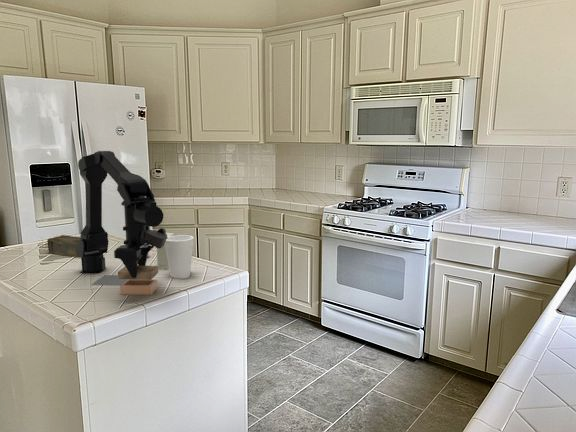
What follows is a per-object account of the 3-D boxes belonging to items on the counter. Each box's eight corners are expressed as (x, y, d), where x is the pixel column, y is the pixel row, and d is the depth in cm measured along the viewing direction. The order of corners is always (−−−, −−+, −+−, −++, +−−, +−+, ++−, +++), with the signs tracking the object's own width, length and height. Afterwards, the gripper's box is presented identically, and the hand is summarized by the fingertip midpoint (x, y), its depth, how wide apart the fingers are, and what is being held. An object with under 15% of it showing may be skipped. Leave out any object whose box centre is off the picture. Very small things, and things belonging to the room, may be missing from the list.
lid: (118, 279, 124) (117, 269, 124) (126, 272, 131) (126, 262, 130) (151, 279, 124) (150, 269, 124) (158, 272, 131) (157, 263, 130)
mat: (90, 286, 133) (90, 285, 133) (104, 276, 143) (104, 275, 143) (129, 286, 133) (129, 285, 133) (140, 276, 143) (140, 275, 143)
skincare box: (168, 271, 149) (167, 236, 147) (157, 270, 150) (155, 236, 148) (177, 266, 156) (175, 232, 154) (165, 265, 156) (164, 232, 154)
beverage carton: (83, 259, 165) (81, 242, 164) (47, 254, 172) (45, 237, 171) (99, 254, 172) (98, 237, 171) (64, 249, 179) (62, 233, 178)
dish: (120, 295, 125) (119, 285, 125) (128, 288, 131) (127, 279, 131) (151, 296, 125) (150, 286, 125) (157, 289, 131) (157, 279, 131)
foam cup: (167, 281, 138) (166, 242, 136) (163, 273, 146) (162, 236, 144) (197, 278, 142) (196, 239, 140) (191, 270, 150) (190, 234, 148)
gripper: (153, 228, 115) (155, 284, 118) (172, 216, 134) (174, 265, 137) (111, 228, 116) (115, 284, 118) (136, 216, 134) (139, 265, 137)
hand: (138, 274), depth 127 cm, fingers closed on lid, 6 cm apart
